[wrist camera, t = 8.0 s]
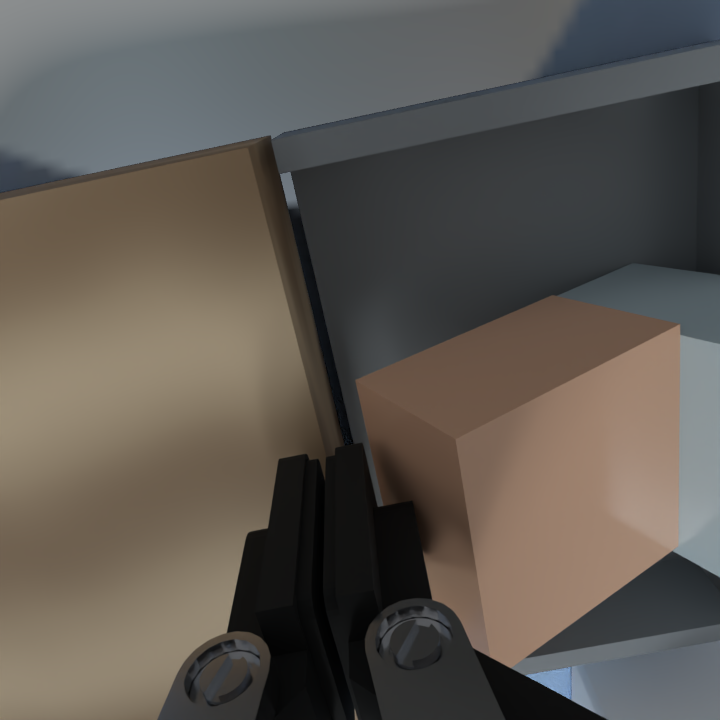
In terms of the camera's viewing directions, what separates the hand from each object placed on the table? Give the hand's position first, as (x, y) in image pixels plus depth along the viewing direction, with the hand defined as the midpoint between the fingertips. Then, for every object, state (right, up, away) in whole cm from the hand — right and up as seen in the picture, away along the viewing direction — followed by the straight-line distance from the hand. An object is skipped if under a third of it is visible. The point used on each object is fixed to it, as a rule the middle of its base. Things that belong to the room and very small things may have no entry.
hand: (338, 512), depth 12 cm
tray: (+5, +2, +4) cm, 7 cm away
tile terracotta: (+3, +1, +1) cm, 3 cm away
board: (-7, 0, +5) cm, 9 cm away
